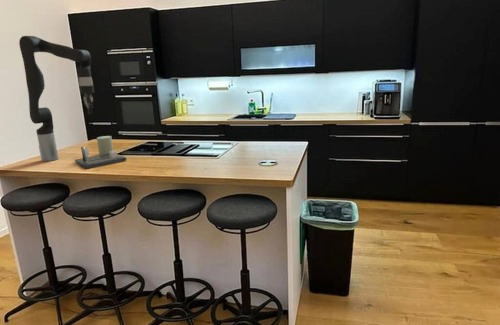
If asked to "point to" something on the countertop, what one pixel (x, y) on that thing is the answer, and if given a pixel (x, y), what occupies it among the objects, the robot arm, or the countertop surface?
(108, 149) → the can
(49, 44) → the robot arm
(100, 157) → the grey holder base
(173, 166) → the countertop surface
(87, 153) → the rack door
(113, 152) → the fader
